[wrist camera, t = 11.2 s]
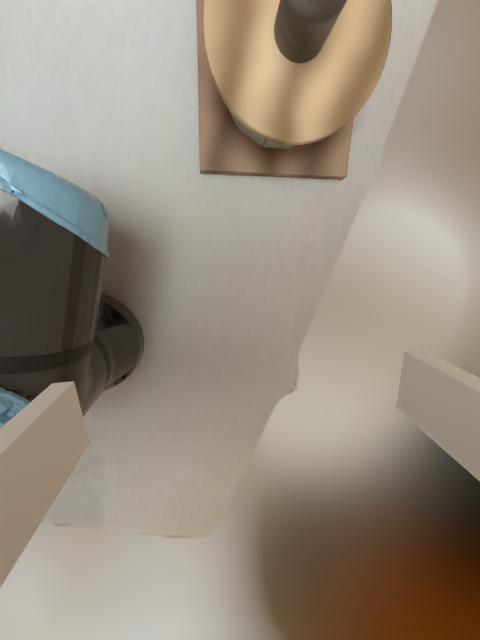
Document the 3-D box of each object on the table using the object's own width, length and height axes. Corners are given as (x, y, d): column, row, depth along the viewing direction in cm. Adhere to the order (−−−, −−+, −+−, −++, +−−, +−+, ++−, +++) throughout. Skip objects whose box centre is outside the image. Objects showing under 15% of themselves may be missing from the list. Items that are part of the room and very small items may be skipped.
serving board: (200, 173, 35) (200, 169, 34) (197, -20, 30) (196, -34, 29) (341, 179, 37) (346, 176, 36) (361, -2, 32) (368, -13, 30)
